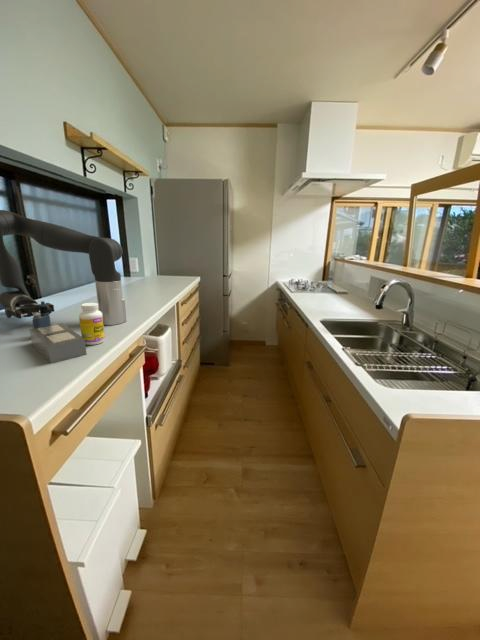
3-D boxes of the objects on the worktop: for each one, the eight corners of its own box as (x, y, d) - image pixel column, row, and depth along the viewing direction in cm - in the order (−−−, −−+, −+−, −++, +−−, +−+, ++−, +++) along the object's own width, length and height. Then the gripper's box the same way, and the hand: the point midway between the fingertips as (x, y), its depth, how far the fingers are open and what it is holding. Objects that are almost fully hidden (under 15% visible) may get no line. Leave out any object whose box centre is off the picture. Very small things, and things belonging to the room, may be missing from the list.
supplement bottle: (95, 346, 85) (91, 307, 82) (77, 344, 87) (72, 305, 83) (109, 339, 92) (105, 302, 88) (92, 337, 93) (88, 301, 89)
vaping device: (54, 334, 94) (49, 301, 91) (39, 339, 89) (33, 304, 86) (49, 333, 95) (43, 300, 92) (33, 338, 90) (27, 303, 87)
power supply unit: (64, 337, 92) (61, 322, 91) (86, 354, 80) (84, 337, 78) (31, 343, 86) (29, 328, 84) (50, 363, 73) (47, 345, 72)
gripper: (-2, 298, 100) (6, 306, 89) (44, 294, 110) (56, 300, 100) (2, 317, 102) (11, 327, 91) (47, 311, 112) (59, 320, 102)
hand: (35, 313), depth 96 cm, fingers open, 8 cm apart
